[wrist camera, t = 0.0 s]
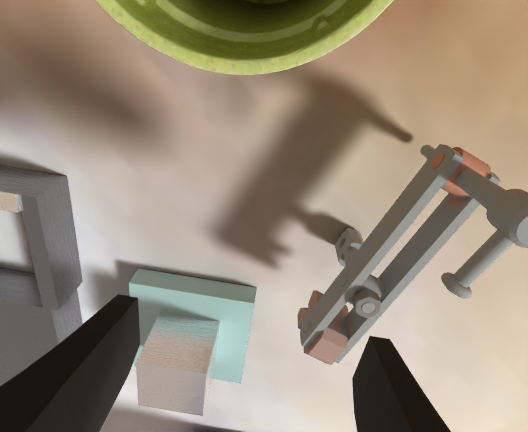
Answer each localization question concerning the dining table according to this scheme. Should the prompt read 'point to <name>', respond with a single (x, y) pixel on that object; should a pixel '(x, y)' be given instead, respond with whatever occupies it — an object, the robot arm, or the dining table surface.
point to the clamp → (412, 249)
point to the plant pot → (244, 30)
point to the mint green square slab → (198, 312)
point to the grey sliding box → (38, 270)
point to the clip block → (178, 363)
